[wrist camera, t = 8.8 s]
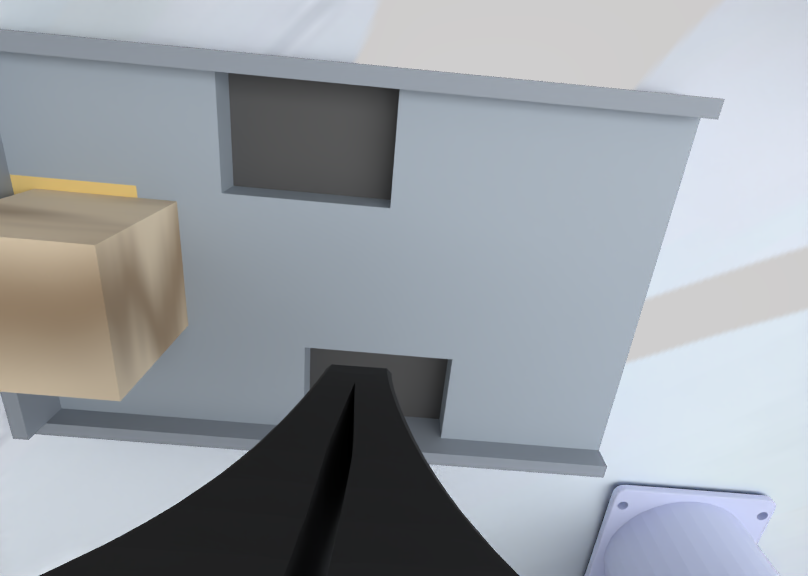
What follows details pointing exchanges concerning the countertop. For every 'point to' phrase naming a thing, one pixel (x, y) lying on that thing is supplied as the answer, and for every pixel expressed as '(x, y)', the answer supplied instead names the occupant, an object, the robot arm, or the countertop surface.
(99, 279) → the beech block
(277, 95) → the trap lane
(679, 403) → the countertop surface
